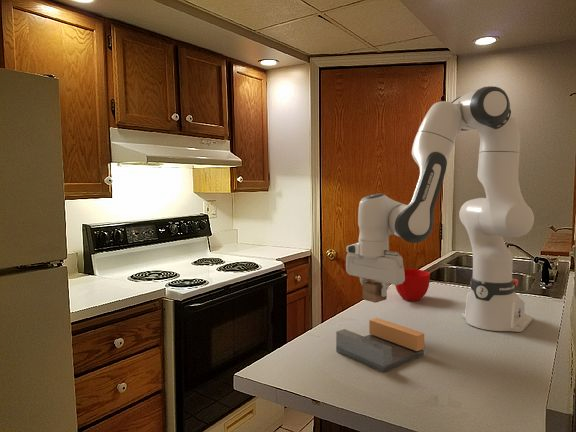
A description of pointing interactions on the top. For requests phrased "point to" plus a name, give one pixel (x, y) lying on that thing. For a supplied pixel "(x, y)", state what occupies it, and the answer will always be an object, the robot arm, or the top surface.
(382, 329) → the block
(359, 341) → the frame
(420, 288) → the ceramic cup
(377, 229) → the robot arm
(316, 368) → the top surface
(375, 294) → the block
